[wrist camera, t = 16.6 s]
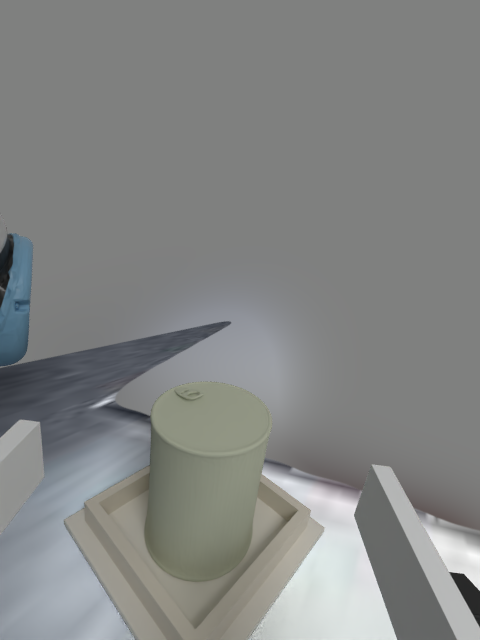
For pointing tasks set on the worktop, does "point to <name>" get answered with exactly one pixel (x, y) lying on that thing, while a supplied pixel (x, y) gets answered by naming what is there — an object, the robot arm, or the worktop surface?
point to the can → (204, 478)
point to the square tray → (185, 596)
